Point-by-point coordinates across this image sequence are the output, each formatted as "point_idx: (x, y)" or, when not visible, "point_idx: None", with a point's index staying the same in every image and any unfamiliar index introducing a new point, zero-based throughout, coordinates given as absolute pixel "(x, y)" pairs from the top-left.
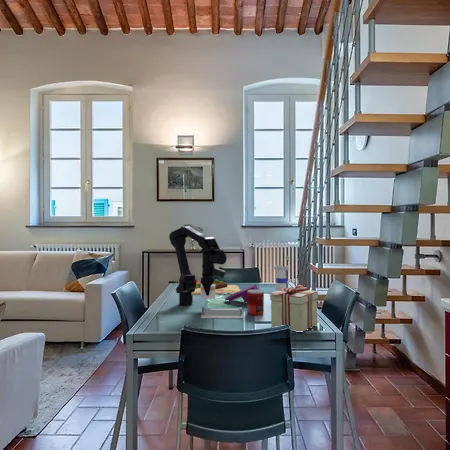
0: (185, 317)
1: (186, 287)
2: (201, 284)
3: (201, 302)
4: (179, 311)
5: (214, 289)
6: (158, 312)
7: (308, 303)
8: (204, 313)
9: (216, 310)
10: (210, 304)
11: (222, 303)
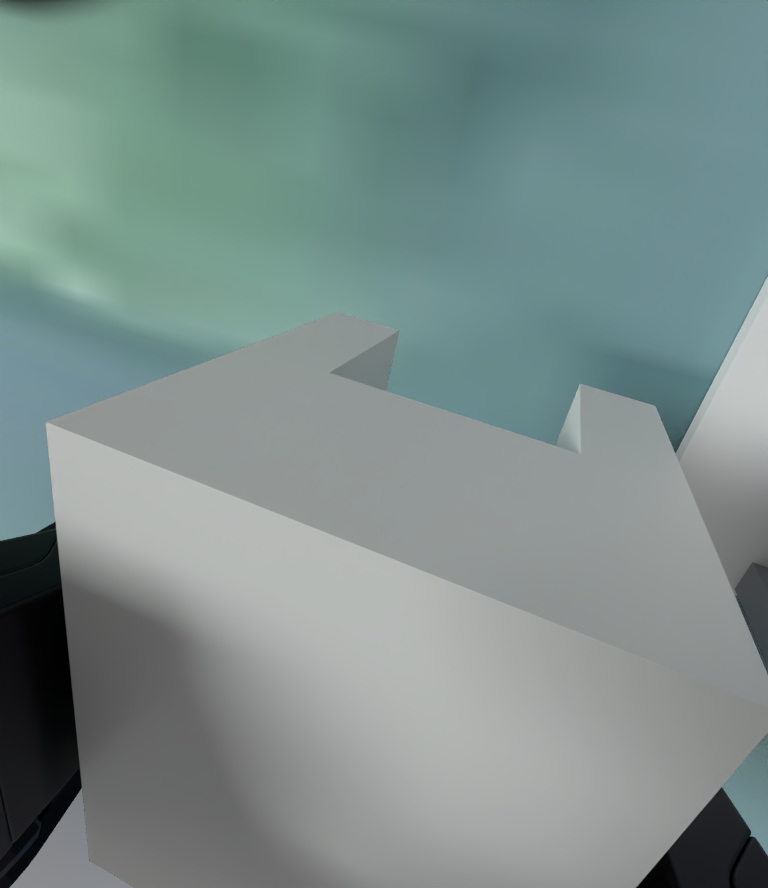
0: (763, 789)
1: (37, 822)
2: (117, 870)
3: (47, 370)
4: None
5: (722, 601)
6: None
7: None
8: (745, 556)
9: None
10: (136, 277)
11: (70, 50)
